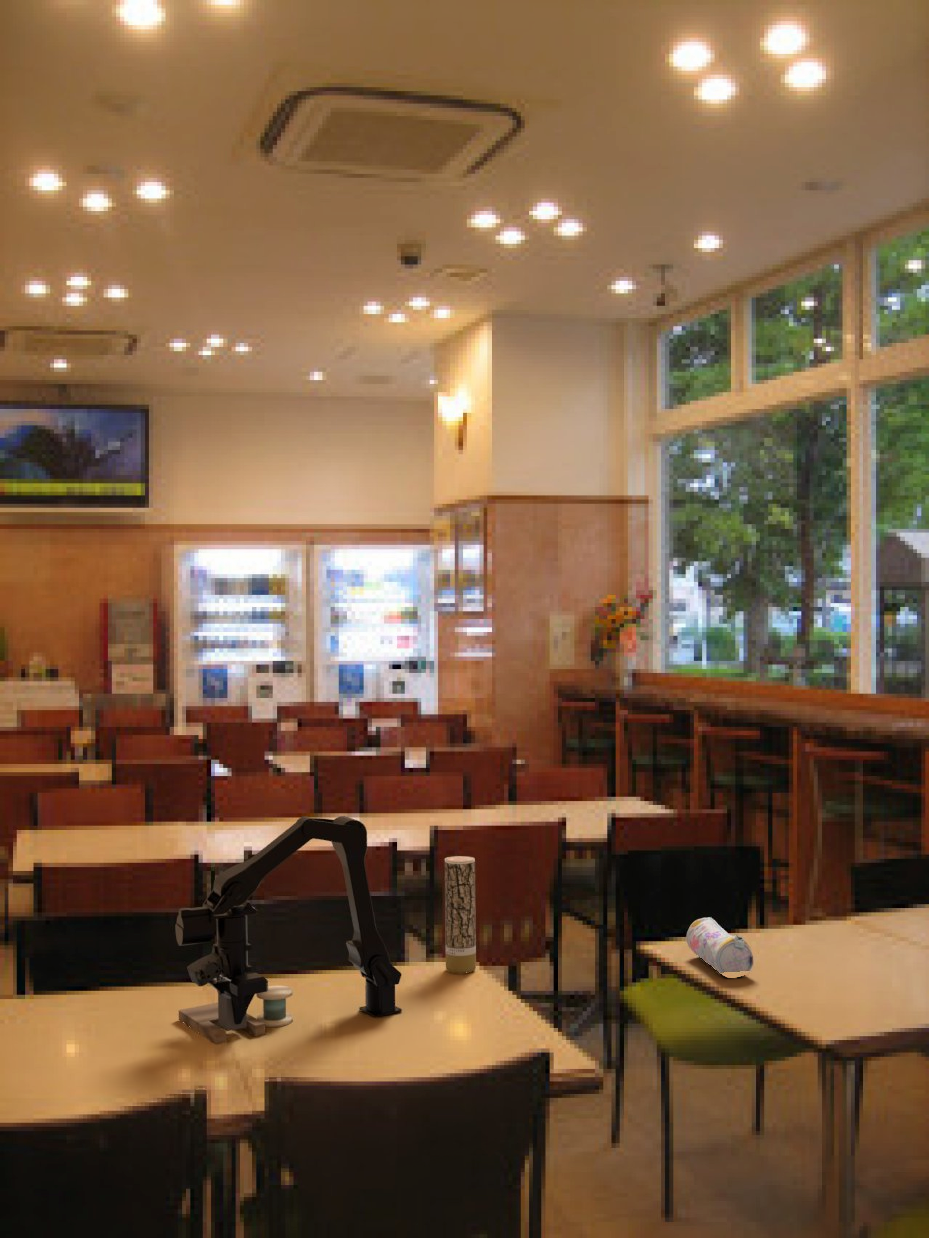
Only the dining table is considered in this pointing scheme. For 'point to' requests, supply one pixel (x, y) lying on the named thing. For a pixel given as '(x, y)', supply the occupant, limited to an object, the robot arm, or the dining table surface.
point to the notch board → (215, 1022)
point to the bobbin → (275, 1006)
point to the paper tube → (460, 914)
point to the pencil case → (719, 946)
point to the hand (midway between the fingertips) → (233, 1021)
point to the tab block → (228, 1014)
